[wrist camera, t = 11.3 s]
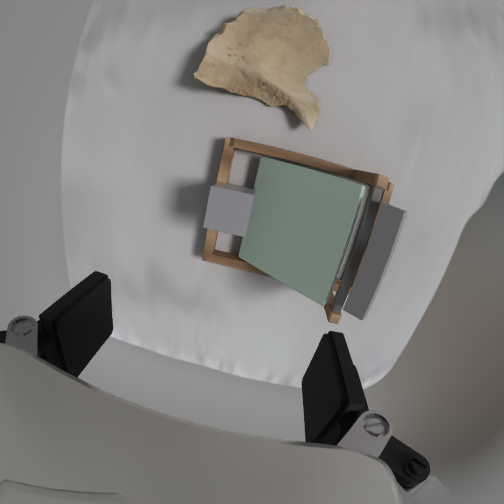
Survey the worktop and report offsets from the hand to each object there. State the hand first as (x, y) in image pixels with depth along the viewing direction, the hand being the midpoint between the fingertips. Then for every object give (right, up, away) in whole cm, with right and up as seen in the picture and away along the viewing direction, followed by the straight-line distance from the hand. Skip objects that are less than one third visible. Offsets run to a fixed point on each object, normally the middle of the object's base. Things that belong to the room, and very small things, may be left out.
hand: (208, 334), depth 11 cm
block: (+2, +8, +22) cm, 24 cm away
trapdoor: (+9, +5, +20) cm, 23 cm away
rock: (+5, +29, +20) cm, 35 cm away
